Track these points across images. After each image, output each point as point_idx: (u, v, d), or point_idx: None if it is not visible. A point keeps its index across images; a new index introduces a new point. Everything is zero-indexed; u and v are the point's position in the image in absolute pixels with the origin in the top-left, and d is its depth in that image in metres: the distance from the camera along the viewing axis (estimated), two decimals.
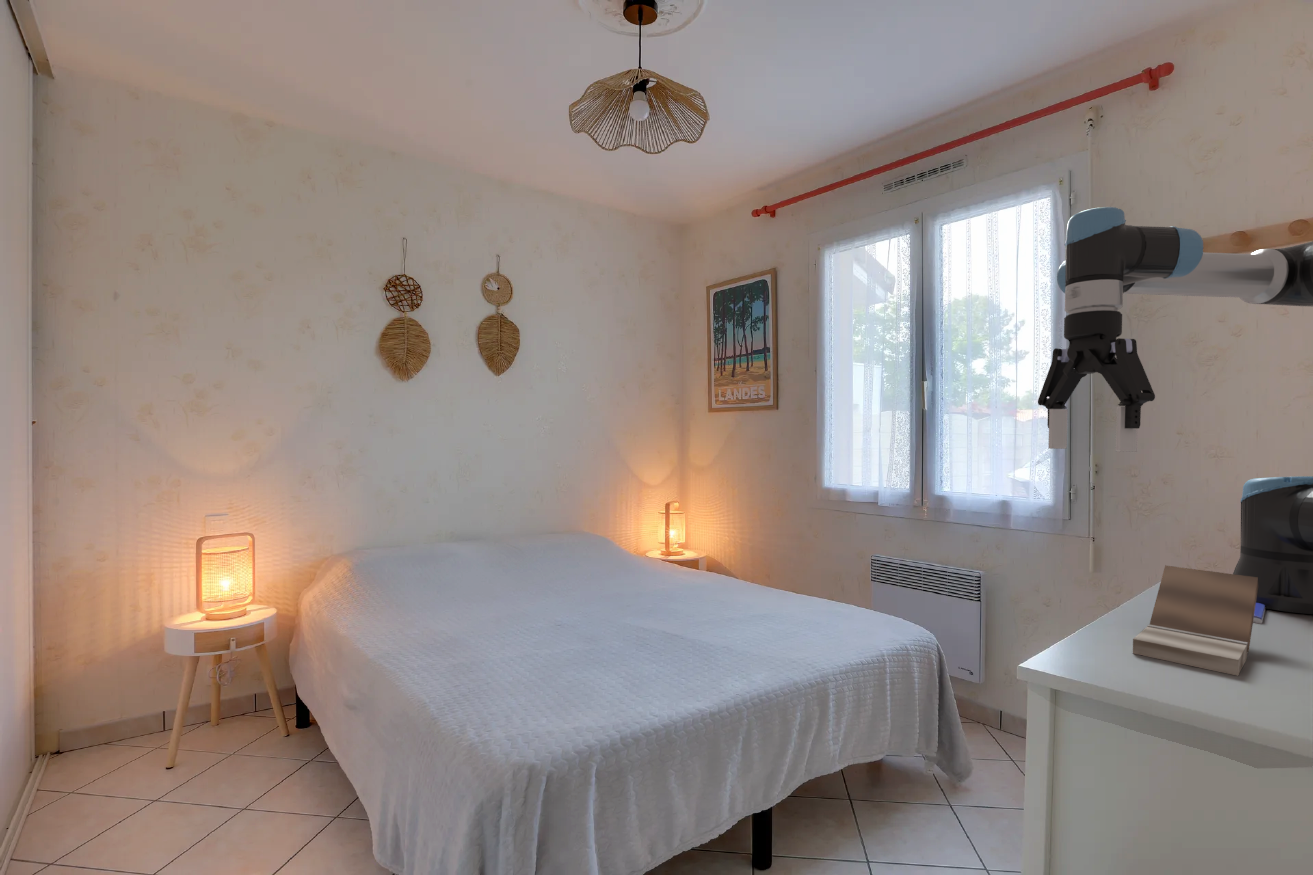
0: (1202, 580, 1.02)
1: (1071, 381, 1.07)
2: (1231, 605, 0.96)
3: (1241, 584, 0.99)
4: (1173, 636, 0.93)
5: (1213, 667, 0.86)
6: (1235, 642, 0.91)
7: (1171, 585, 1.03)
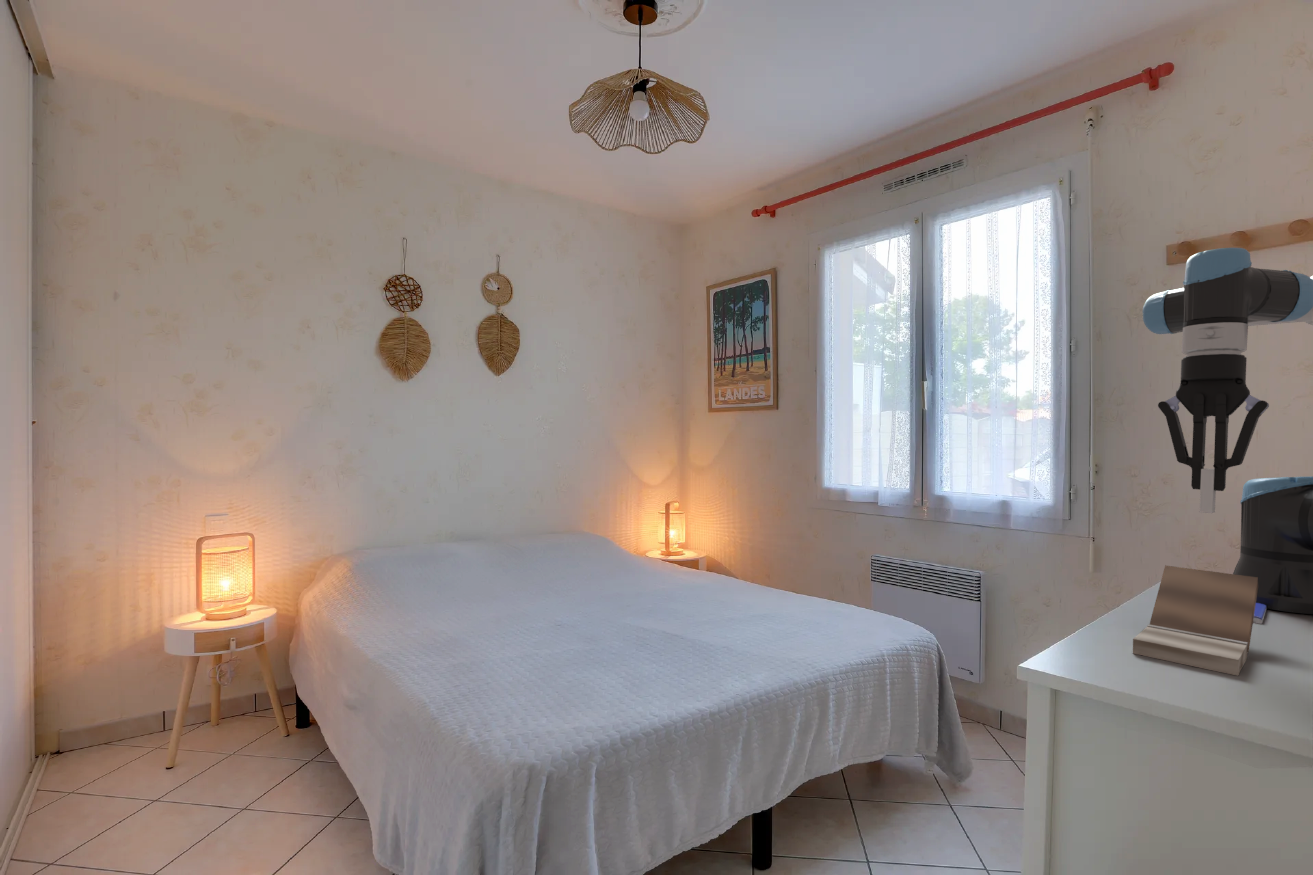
0: (1202, 580, 1.02)
1: (1204, 428, 1.01)
2: (1231, 605, 0.96)
3: (1241, 584, 0.99)
4: (1173, 636, 0.93)
5: (1213, 667, 0.86)
6: (1235, 642, 0.91)
7: (1171, 585, 1.03)
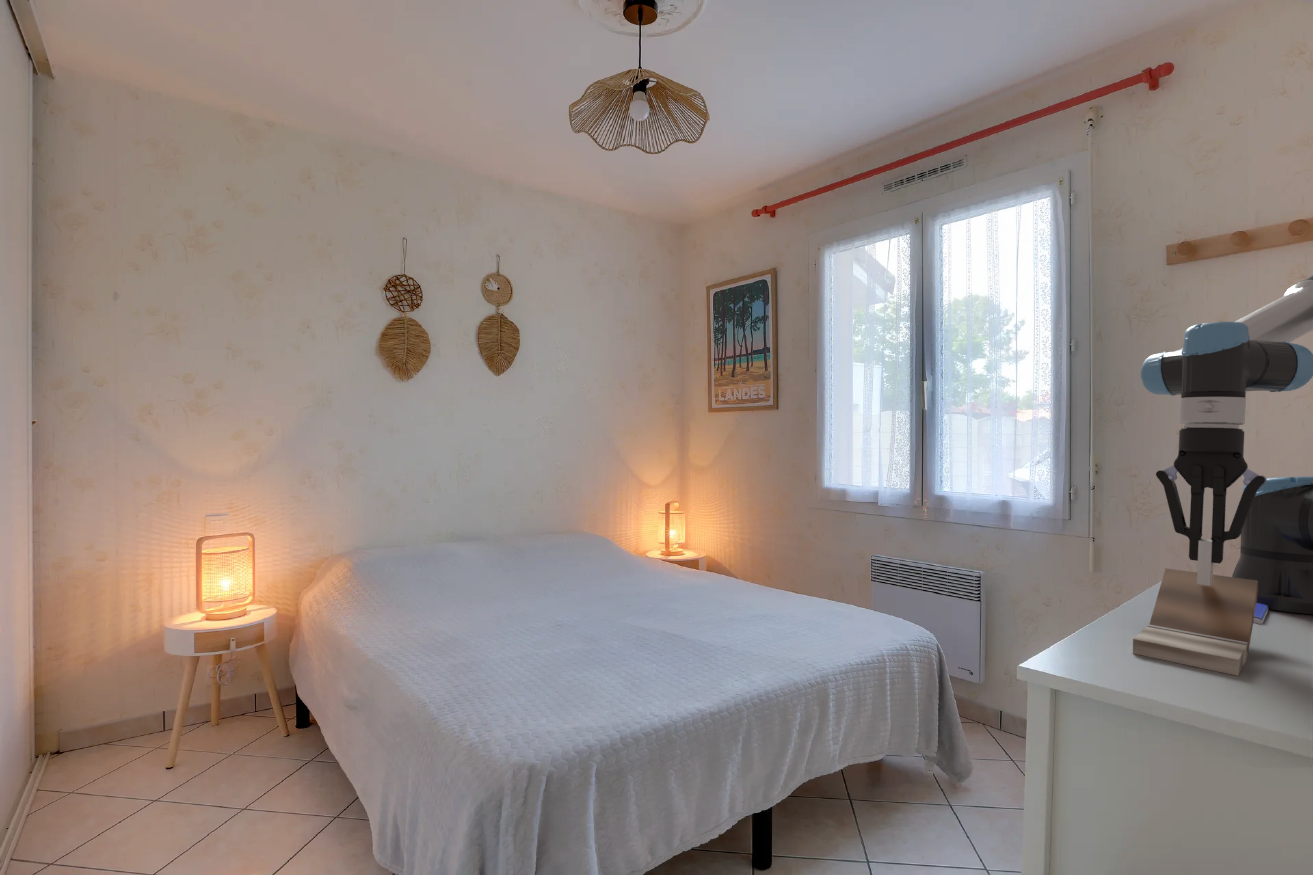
0: None
1: (1202, 500, 1.01)
2: (1231, 606, 0.97)
3: (1241, 587, 0.99)
4: (1173, 636, 0.93)
5: (1213, 667, 0.86)
6: (1235, 642, 0.91)
7: (1171, 587, 1.03)
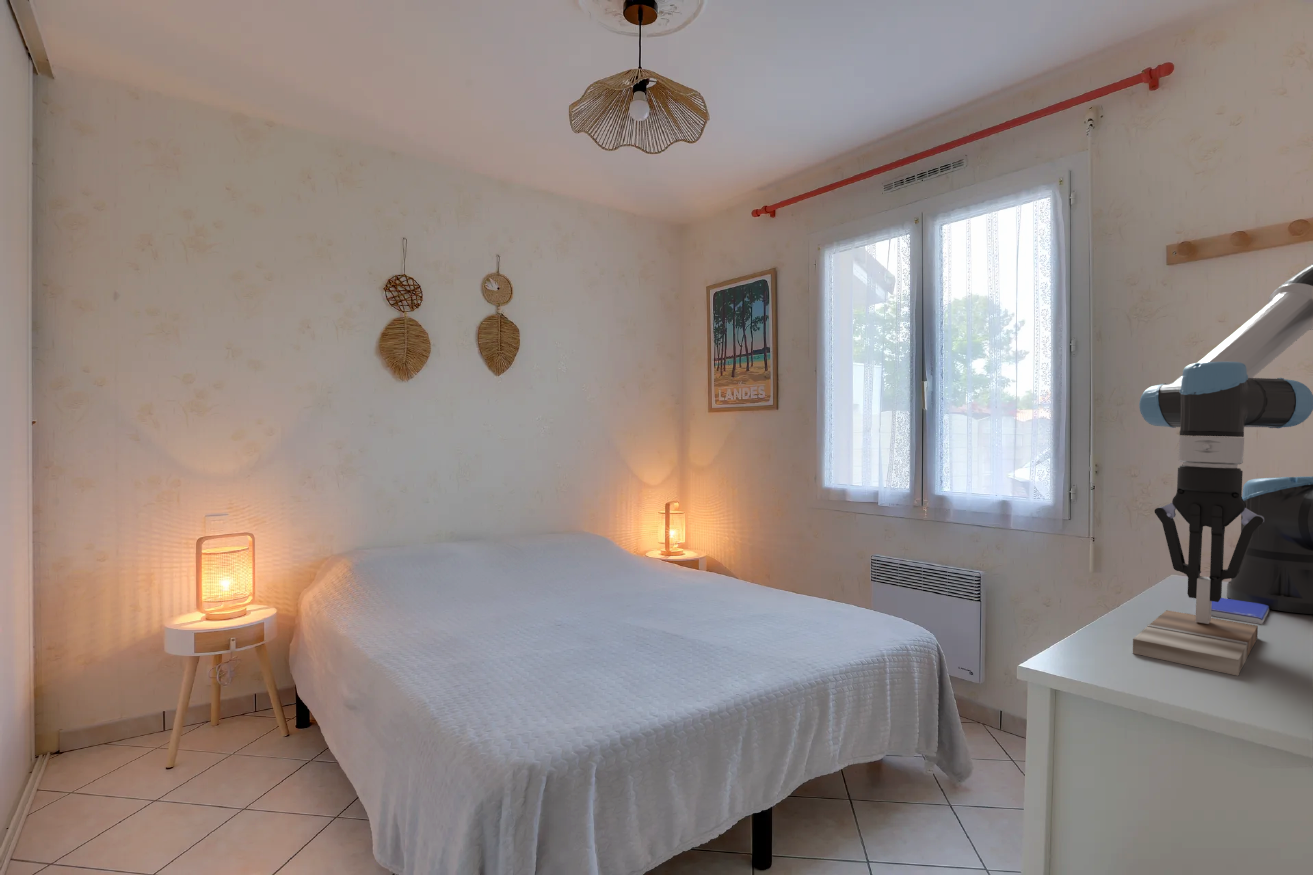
0: None
1: (1200, 538, 1.01)
2: (1232, 630, 0.97)
3: (1241, 625, 1.00)
4: (1173, 636, 0.93)
5: (1213, 667, 0.86)
6: (1235, 642, 0.91)
7: (1172, 616, 1.04)
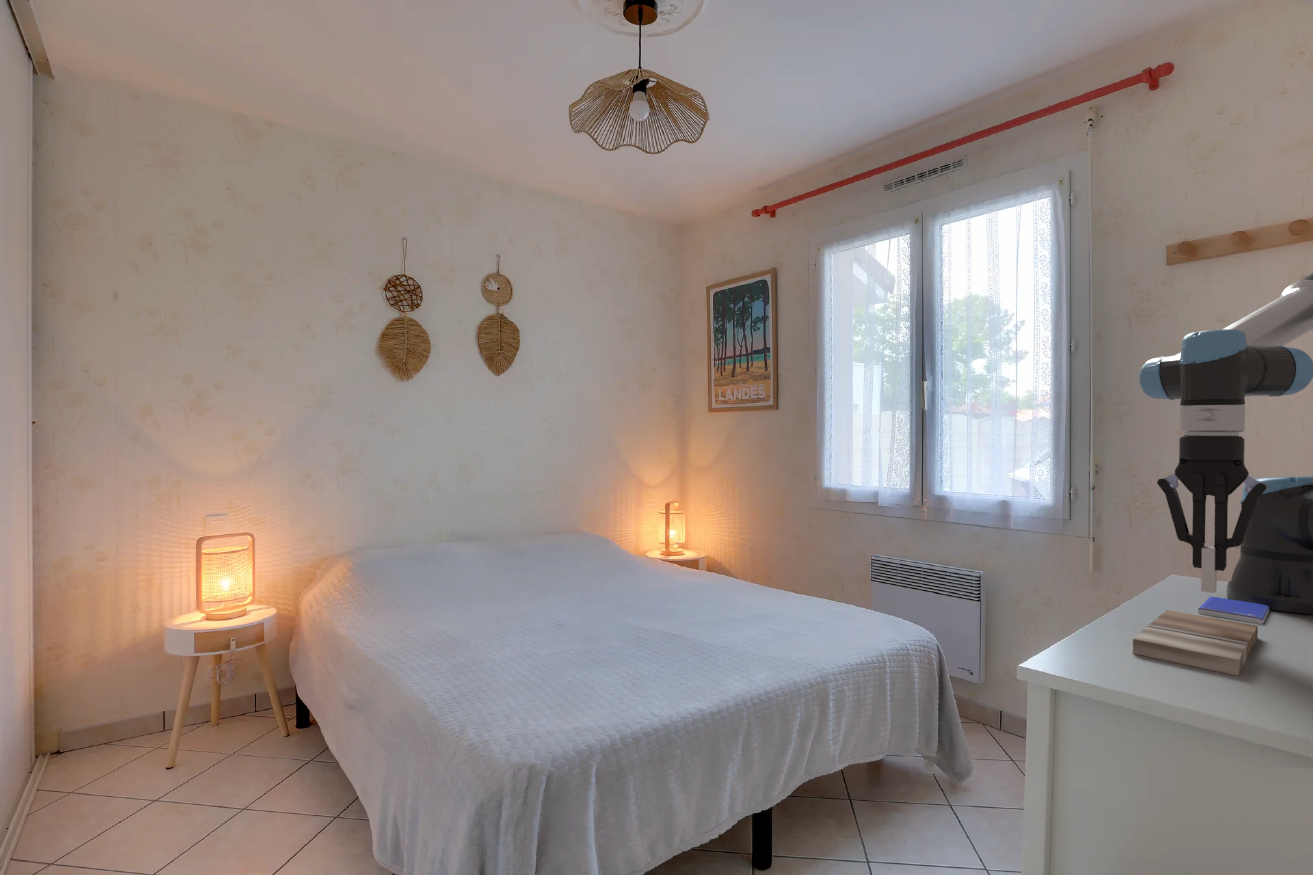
0: (1202, 619, 1.03)
1: (1204, 507, 1.01)
2: (1232, 630, 0.97)
3: (1241, 625, 1.00)
4: (1173, 636, 0.93)
5: (1213, 667, 0.86)
6: (1235, 642, 0.91)
7: (1172, 616, 1.04)
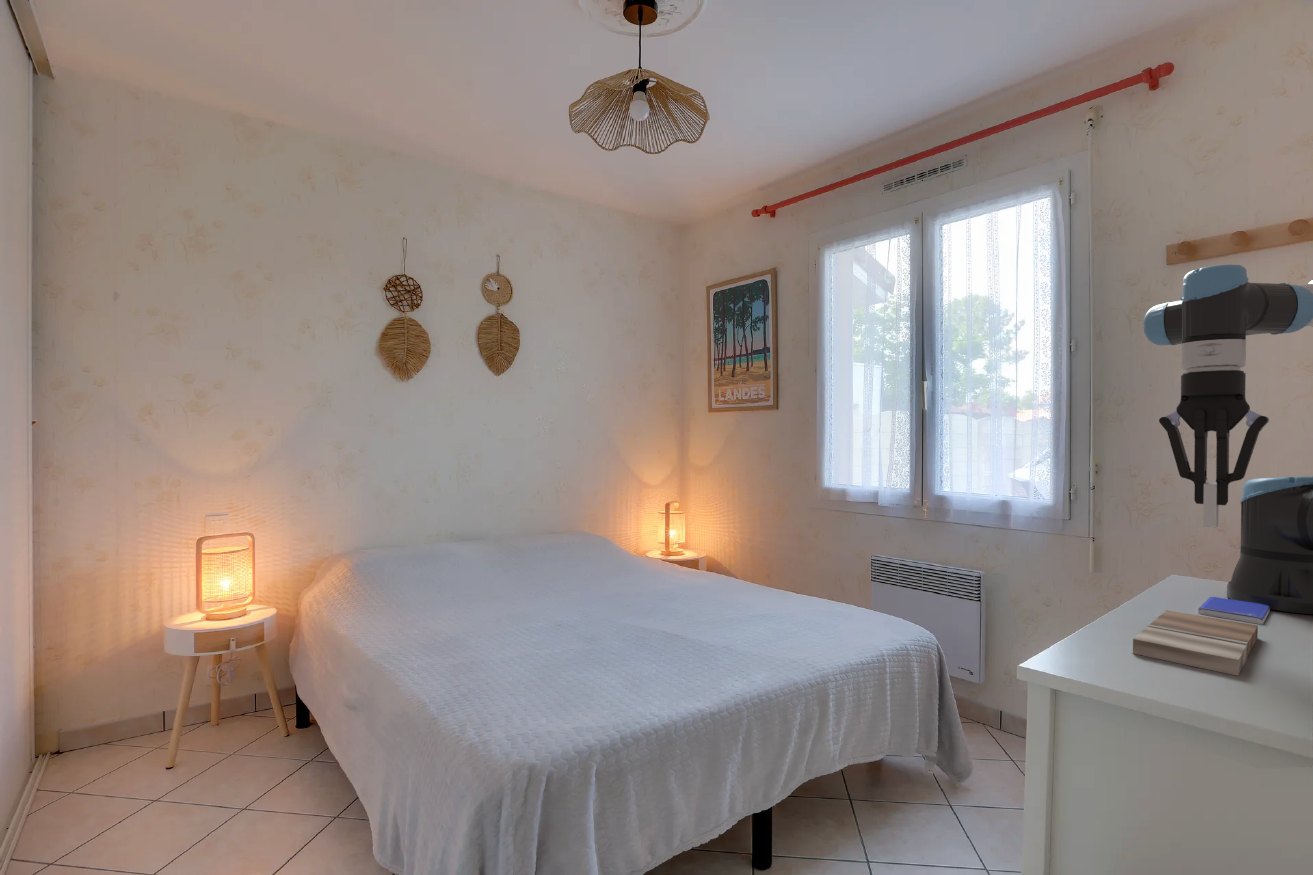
0: (1202, 619, 1.03)
1: (1205, 443, 1.01)
2: (1232, 630, 0.97)
3: (1241, 625, 1.00)
4: (1173, 636, 0.93)
5: (1213, 667, 0.86)
6: (1235, 642, 0.91)
7: (1172, 616, 1.04)
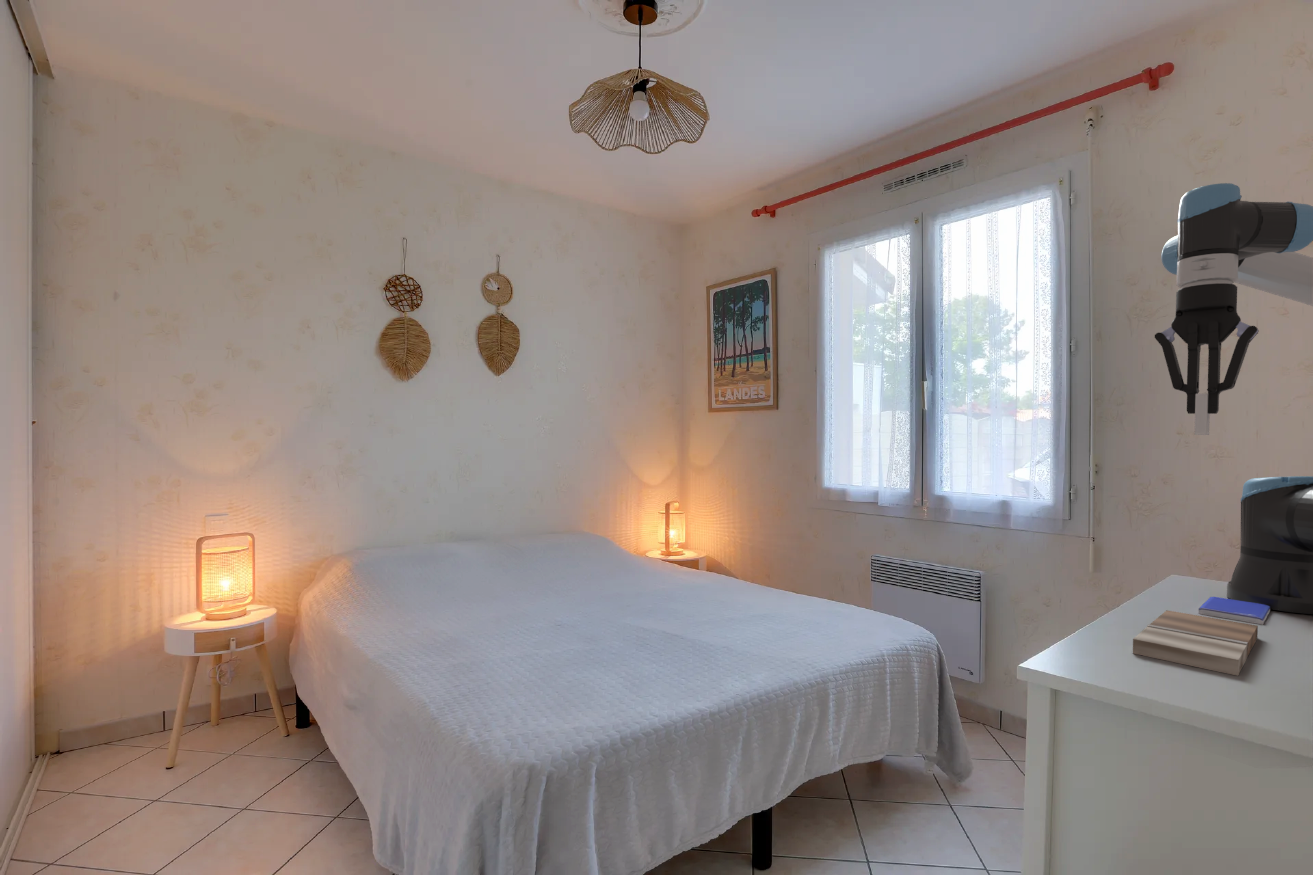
0: (1202, 619, 1.03)
1: (1198, 356, 1.07)
2: (1232, 630, 0.97)
3: (1241, 625, 1.00)
4: (1173, 636, 0.93)
5: (1213, 667, 0.86)
6: (1235, 642, 0.91)
7: (1172, 616, 1.04)
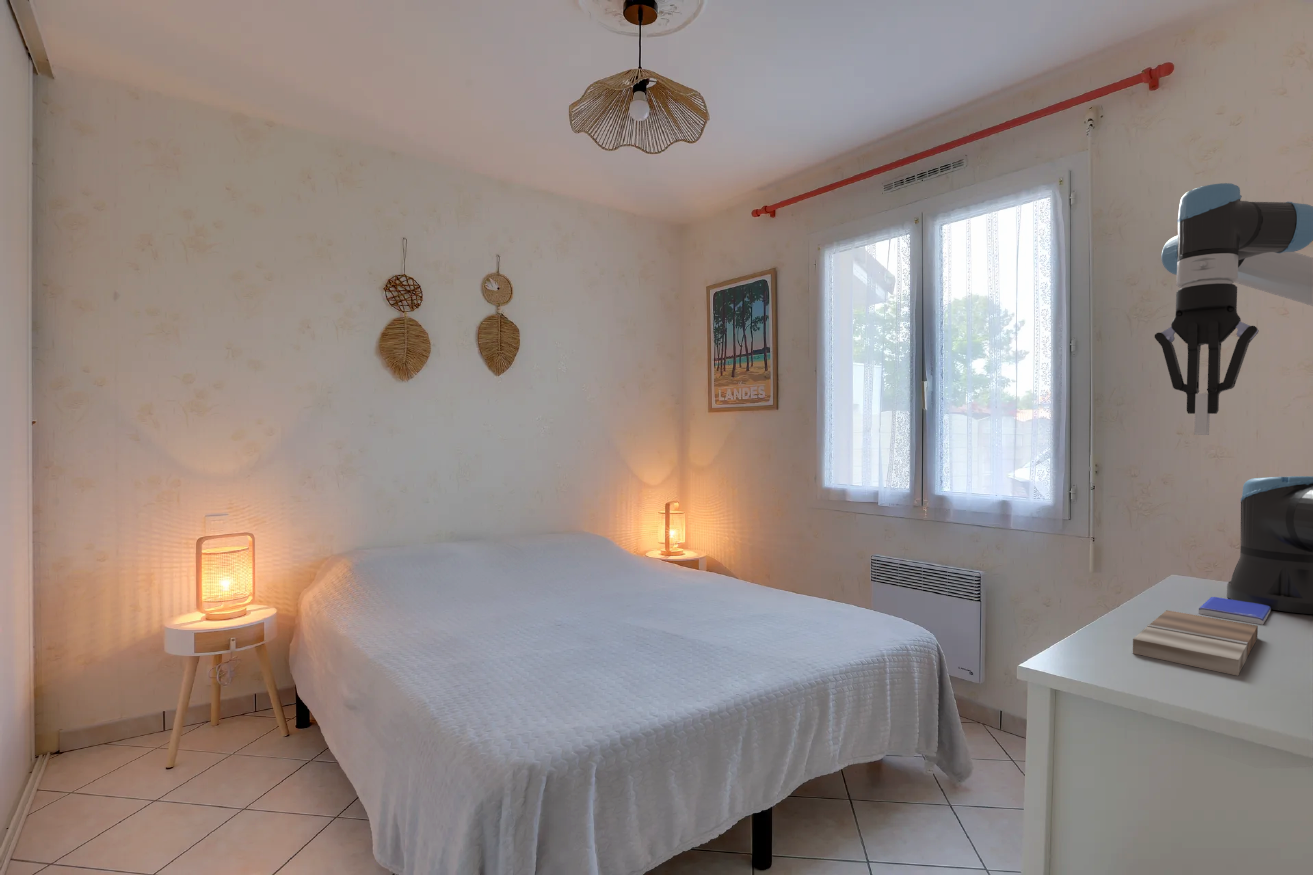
0: (1202, 619, 1.03)
1: (1198, 356, 1.07)
2: (1232, 630, 0.97)
3: (1241, 625, 1.00)
4: (1173, 636, 0.93)
5: (1213, 667, 0.86)
6: (1235, 642, 0.91)
7: (1172, 616, 1.04)
